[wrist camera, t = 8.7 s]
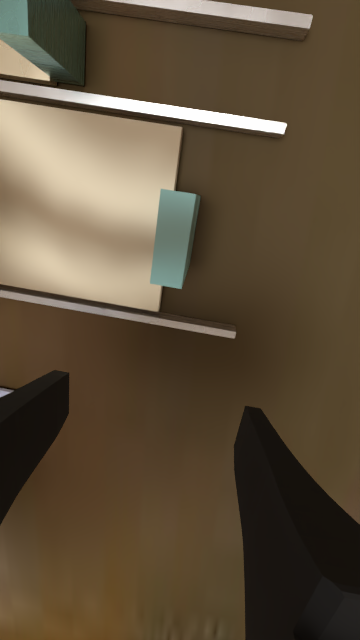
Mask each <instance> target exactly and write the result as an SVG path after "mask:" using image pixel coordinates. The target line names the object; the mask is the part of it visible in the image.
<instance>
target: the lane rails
mask: <svg viewBox="0 0 360 640" xmlns="http://www.w3.org/2000/svg"><path fill="white" fill-rule="evenodd" d="M76 9H79V10H86V11H94V12H101V13H108V14H115V15H122V16H129V17H136V18H143V19H151V20H158V21H165V22H172V23H179V24H186V25H193V26H200V27H207V28H215V29H222V30H229V31H236V32H243V33H250V34H257V35H264V36H272V37H279V38H286V39H293V40H300V41H303V40H304V38H305V36H306V34H307V33H308V31H309V29H310V25H311V21H312V17H313V15H309V14H301V13H294V12H287V11H279V10H272V9H265V8H257V7H250V6H243V5H236V4H228V3H221V2H214V1H206V0H0V78H6V79H13V80H19V81H26V82H32V83H39V84H46V85H52V86H57V82H61V83H67V84H74V85H81V86H84V70H85V29H86V22H85V21H84V19H83V18H82V17H81V15H80V14H79V12H78V11H77V10H76ZM0 96H5V97H12V98H18V99H25V100H31V101H38V102H45V103H51V104H58V105H64V106H71V107H77V108H84V109H90V110H97V111H103V112H110V113H116V114H123V115H130V116H136V117H143V118H149V119H156V120H162V121H169V122H175V123H182V124H188V125H195V126H201V127H208V128H215V129H221V130H228V131H234V132H241V133H247V134H254V135H260V136H267V137H273V138H281V137H282V136H283V135H284V133H285V129H286V124H287V123H282V122H275V121H268V120H262V119H255V118H249V117H242V116H235V115H229V114H222V113H215V112H209V111H202V110H196V109H189V108H182V107H176V106H169V105H162V104H156V103H149V102H143V101H136V100H129V99H123V98H116V97H109V96H103V95H96V94H90V93H83V92H76V91H70V90H63V89H56V88H50V87H43V86H36V85H30V84H23V83H17V82H10V81H3V80H0ZM0 297H4V298H10V299H15V300H21V301H27V302H32V303H38V304H43V305H49V306H55V307H60V308H66V309H71V310H77V311H83V312H88V313H94V314H99V315H105V316H111V317H116V318H122V319H127V320H133V321H139V322H144V323H150V324H155V325H161V326H167V327H172V328H178V329H183V330H189V331H195V332H200V333H206V334H211V335H217V336H223V337H228V338H234V339H235V335H236V328H235V325H230V324H225V323H219V322H213V321H208V320H202V319H196V318H191V317H185V316H179V315H174V314H168V313H163V312H155V311H150V310H144V309H138V308H133V307H127V306H121V305H116V304H110V303H105V302H99V301H93V300H88V299H82V298H76V297H71V296H65V295H59V294H54V293H48V292H42V291H37V290H31V289H25V288H20V287H14V286H8V285H3V284H0Z"/></svg>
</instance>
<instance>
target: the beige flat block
mask: <svg viewBox="0 0 360 640" xmlns="http://www.w3.org/2000/svg"><path fill="white" fill-rule="evenodd" d="M182 137H183V128H182V127H177V126H171V125H164V124H158V123H151V122H145V121H138V120H132V119H125V118H119V117H112V116H106V115H99V114H93V113H86V112H80V111H73V110H66V109H60V108H53V107H47V106H40V105H34V104H27V103H21V102H14V101H8V100H1V99H0V284H3V285H8V286H14V287H20V288H25V289H31V290H37V291H42V292H48V293H54V294H59V295H65V296H71V297H76V298H82V299H88V300H93V301H99V302H105V303H110V304H116V305H121V306H127V307H133V308H138V309H144V310H150V311H155V312H158V311H159V309H160V303H161V295H162V288H163V286H167V287H173V288H179V289H181V288H182V286H183V283H184V280H185V277H186V274H187V272H188V269H189V265H190V259H191V253H192V247H193V241H194V235H195V229H196V222H197V216H198V210H199V204H200V198H201V196H199V195H197V194H191V193H185V192H179V191H175V189H176V182H177V174H178V167H179V159H180V152H181V144H182Z"/></svg>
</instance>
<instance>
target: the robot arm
mask: <svg viewBox="0 0 360 640" xmlns="http://www.w3.org/2000/svg"><path fill="white" fill-rule="evenodd" d="M68 414H69V373H67V372H62V371H56V370H54V371H52V372H50V373H48V374H46V375H44V376H42V377H40V378H38V379H36V380H34V381H32V382H30V383H28V384H26V385H24V386H22V387H20V388H19V389H17V390H15V391H14V390H9V389H4V388H0V525H1V523H2V521H3V519H4V517H5V516H6V514H7V512H8V510H9V508H10V507H11V505H12V503H13V501H14V500H15V498H16V496H17V495H18V493H19V491H20V490H21V488H22V487H23V485H24V484H25V482H26V481H27V479H28V478H29V476H30V475H31V473H32V472H33V471H34V469H35V468H36V466H37V465H38V463H39V462H40V460H41V459H42V458H43V456H44V455H45V453H46V452H47V450H48V449H49V447H50V446H51V444H52V443H53V441H54V440H55V438H56V437H57V435H58V433H59V432H60V430H61V428H62V426H63V424H64V422H65V420H66V418H67V416H68ZM234 471H235V480H236V488H237V495H238V503H239V511H240V518H241V526H242V536H243V551H244V578H245V632H246V640H360V525H359V524H358V523H357V522H356V521H355V520H354V519H353V518H352V517H351V516H349V515H348V514H347V513H346V512H345V511H344V510H343V509H342V508H341V507H340V506H339V505H338V504H337V503H336V502H335V501H334V500H333V499H332V498H331V497H330V496H329V495H328V494H327V493H326V492H325V491H324V490H323V489H322V488H321V487H320V486H319V485H318V484H317V483H316V482H315V481H314V479H313V478H312V477H311V476H310V475H309V474H308V473H307V471H306V470H305V469H304V468H303V467H302V465H301V464H300V463H299V462H298V460H297V459H296V458H295V457H294V455H293V454H292V453H291V452H290V450H289V449H288V448H287V446H286V445H285V443H284V442H283V441H282V439H281V438H280V436H279V435H278V434H277V432H276V431H275V429H274V428H273V426H272V425H271V423H270V422H269V420H268V419H267V417H266V416H265V414H264V413H263V411H262V410H261V409H260V408H255V407H249V406H245V409H244V412H243V416H242V419H241V423H240V426H239V430H238V433H237V437H236V441H235V444H234Z"/></svg>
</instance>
